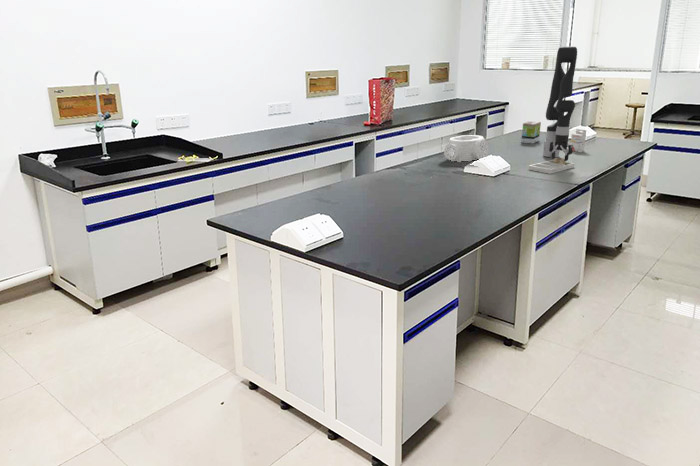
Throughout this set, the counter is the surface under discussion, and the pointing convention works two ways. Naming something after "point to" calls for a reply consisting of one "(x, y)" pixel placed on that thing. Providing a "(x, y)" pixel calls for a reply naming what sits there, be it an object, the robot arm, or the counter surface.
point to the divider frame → (550, 167)
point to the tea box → (530, 132)
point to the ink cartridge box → (578, 140)
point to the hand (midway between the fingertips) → (559, 159)
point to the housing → (466, 148)
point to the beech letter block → (559, 161)
